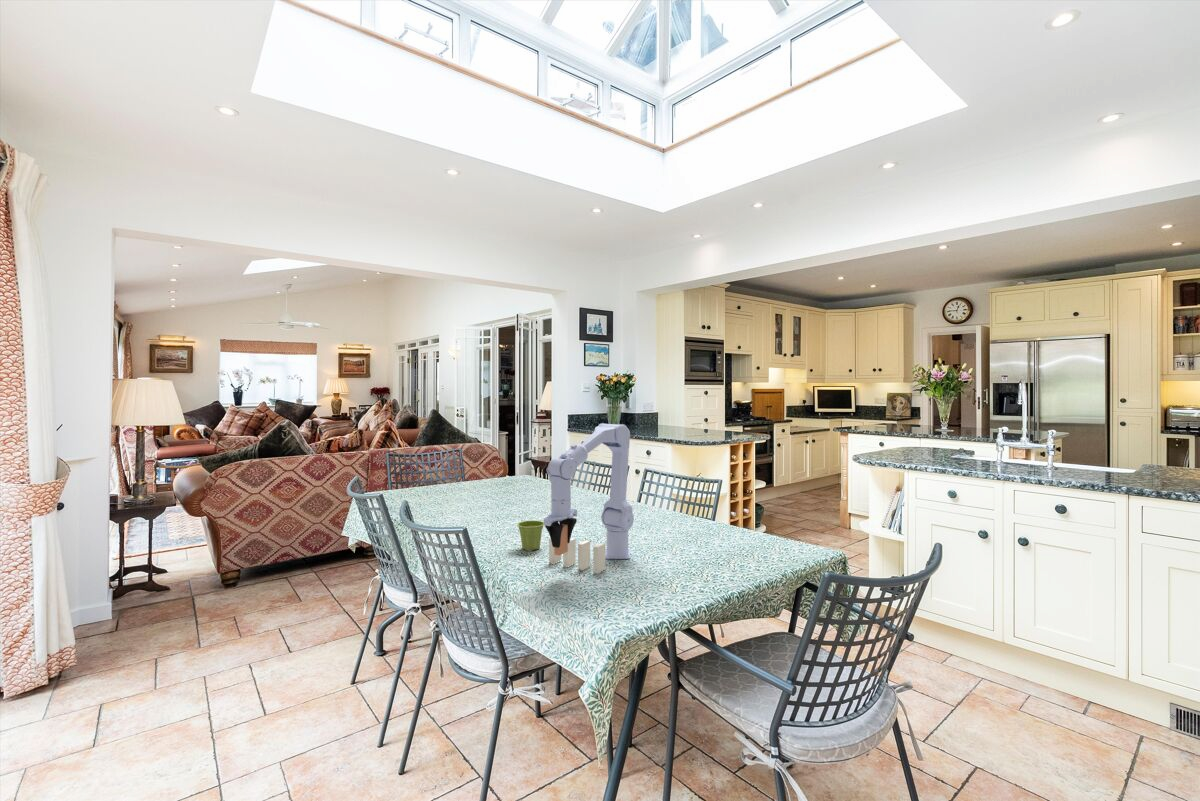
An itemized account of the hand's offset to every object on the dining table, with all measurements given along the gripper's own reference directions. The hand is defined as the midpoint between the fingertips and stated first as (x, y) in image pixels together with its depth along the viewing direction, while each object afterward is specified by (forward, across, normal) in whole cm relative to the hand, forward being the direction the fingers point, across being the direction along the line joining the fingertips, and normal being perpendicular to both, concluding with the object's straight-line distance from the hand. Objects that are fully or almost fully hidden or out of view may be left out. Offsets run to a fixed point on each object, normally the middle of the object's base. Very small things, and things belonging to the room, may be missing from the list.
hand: (561, 544), depth 159 cm
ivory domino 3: (+9, +10, -2) cm, 14 cm away
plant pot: (+10, +18, +25) cm, 32 cm away
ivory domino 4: (+9, +10, -7) cm, 15 cm away
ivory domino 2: (+9, +10, +4) cm, 14 cm away
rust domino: (+2, 0, 0) cm, 2 cm away
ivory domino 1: (+9, +10, +9) cm, 16 cm away
